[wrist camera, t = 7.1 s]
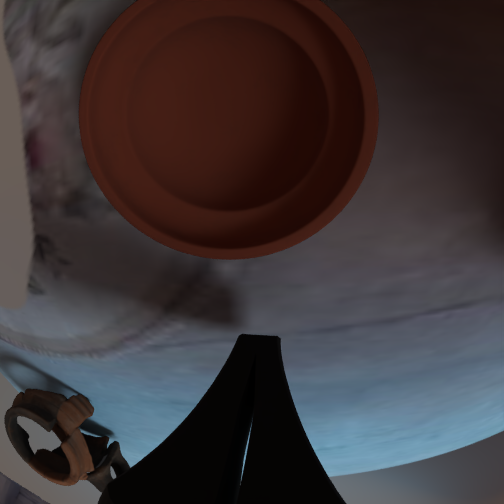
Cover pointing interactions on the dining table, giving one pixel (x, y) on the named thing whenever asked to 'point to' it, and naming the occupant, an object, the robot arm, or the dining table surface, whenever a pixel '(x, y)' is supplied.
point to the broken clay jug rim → (64, 440)
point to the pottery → (228, 122)
